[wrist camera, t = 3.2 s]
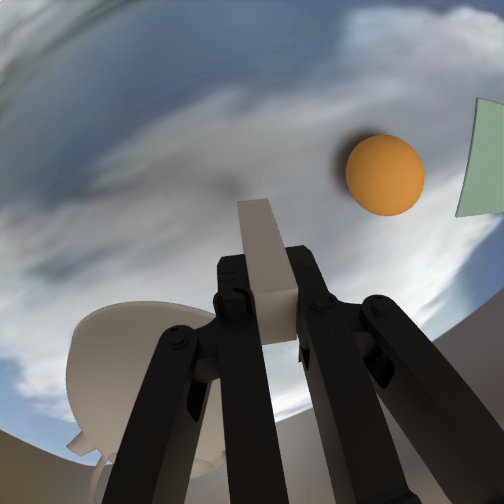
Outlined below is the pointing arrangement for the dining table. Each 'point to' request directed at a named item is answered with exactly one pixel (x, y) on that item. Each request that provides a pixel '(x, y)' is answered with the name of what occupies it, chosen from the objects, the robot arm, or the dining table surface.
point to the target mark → (485, 163)
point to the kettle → (129, 379)
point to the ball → (385, 175)
